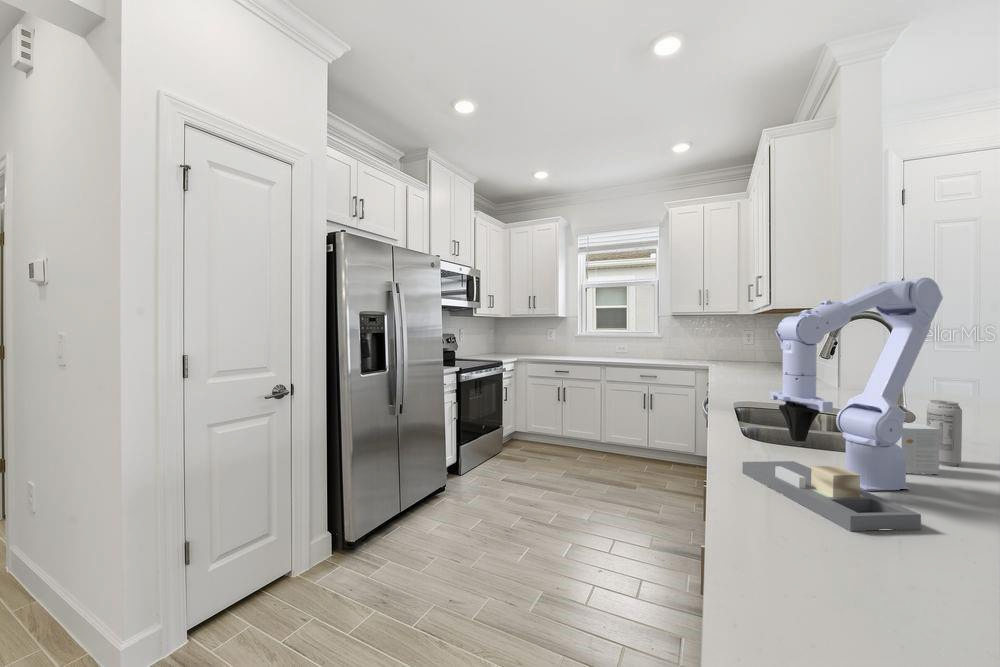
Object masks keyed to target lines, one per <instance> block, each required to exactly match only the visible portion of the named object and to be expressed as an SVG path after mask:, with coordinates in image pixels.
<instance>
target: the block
mask: <svg viewBox="0 0 1000 667" xmlns="http://www.w3.org/2000/svg"><path fill="white" fill-rule="evenodd" d="M810 468H811V488H814V489H816V490H818V491H820V492H822V493H824V494H826V495H828V496H830V497H833V498H847V497H860V489H861V488H860V475H859V474H856V473H854V472H851V471H848V470H846V469H845V468H843V467H840V466H837V465H816V466H815V465H813V466H811V467H810Z"/></svg>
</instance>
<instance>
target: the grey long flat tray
mask: <svg viewBox="0 0 1000 667" xmlns="http://www.w3.org/2000/svg"><path fill="white" fill-rule="evenodd" d="M741 469H742V474H744V475H746V476H748V477H750V478H751V479H753V480H755V481H756V482H758V481H759V482H758V483H760V482H761V483H760V484H762V483H763V485H764V484H765V486H766V485H767V486H766V487H768V488H769V487H770V489H771V488H772V489H771V490H773V489H774V490H773V491H775V490H776V491H775V492H777V493H779V494H780V493H781V494H780V495H782V494H783V496H784V497H786V498H788V499H790V500H792V501H793V502H795V503H798V505H800V506H802V507H805V508H807V509H808V510H810V511H812V512H814V513H815V514H817V513H818V515H819V514H820V515H819V516H821V515H822V516H821V517H822V518H825V519H827V520H828V519H829V521H830V520H831V522H832V521H833V522H832V523H834V524H835V525H838V526H839V527H841V528H843V529H845V530H847V531H849V532H867V531H866V530H879V529H896V530H895V531H921V529H922V528H921V527H922V514H921V513H918V512H916V511H913V510H911V509H908V508H907V507H905V506H902V505H899V504H897V503H895V502H892V501H889V500H887V499H885V498H883V497H881V496H877V495H875V494H873V493H870V492H869V491H867V490H864V489H861V488H860V497H847V498H833V497H830V496H828V495H826V494H824V493H822V492H820V491H818V490H816V489H814V488H811V467H808V466H805V465H804V464H801V463H799V462H796V461H794V460H789V461H788V460H786V461H783V460H781V461H779V460H778V461H776V460H775V461H774V460H773V461H742V468H741ZM898 529H899V530H898Z"/></svg>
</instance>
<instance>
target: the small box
mask: <svg viewBox="0 0 1000 667" xmlns="http://www.w3.org/2000/svg"><path fill="white" fill-rule="evenodd" d="M895 444H897V445H898V446H899V447H901V449H902V450H903V452H904V453H905V456H906V473H924V474H923V475H932V474H938V475H939V473H940V466H939V465H940V464H939V429H937V428H934V427H930V426H926V424H922V423H918V422H917V423H916V422H915V423H914V422H912V423H910V422H908V423H907V422H903V433H902V436H901V438H900V439H899V441H898V442H896V443H895Z"/></svg>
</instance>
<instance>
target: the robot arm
mask: <svg viewBox="0 0 1000 667" xmlns="http://www.w3.org/2000/svg"><path fill="white" fill-rule="evenodd" d="M943 297H944V296H943V295H942V292H941V289H940V287H939V285H938V283H937V282H936V281H935V280H934V279H932V278H930V277H920V278H915V279H907V280H905V279H904V280H896V281H881V282H877V283H875V284H873V285H869V286H868V287H867V288H866V289H864V290H862V291H860V292H858V293H856V294H854V295H853V296H850V297H849V298H847V299H845V300H843V301H838V300H831V299H824V300H821V301H819V305H818V306H816V307H813V308H811V309H804V310H801V311H800V314H799V315H797V316H786V317H784V318H783V319H782V320H781V321H780V322H779V324H778V326H777V329H775V330H774V332H775V335H776V338H777V340H778V341H779V343H780V349H781V351H782V391H781V390H770V392H769V394H770V397H769V398H770V400H772V401H778V402H784V404H779V405H778V409H779V410H780V412H781V414H782V416H783V417H784V419H785V422H786V425H787V428H788V431H789V435H790V439H791V441H795V442H806V441H807V438H808V434H809V431H810V429H811V426H812V424H813V422H814V420H815V419H816V418H817V416H818V415H819V414H820V413H833V409H834V408H833V406H834V404H833V403H834V402H833V401H830V400H826V399H824V398H821V397H818V396H817V356H818V355H817V353H818V352H817V348H818V347H817V346H818V344H820V343H821V342H822V341H823V339H824V337H825V336H826V335H827V334H829V333H832V332H834V331H836V330H838V329H840V328H843V327H845V326H847V325H848V324H849V323H850V321H851V319H852V317H853V316H856V315H859V314H860V313H863V312H866V311H869V310H871V309H875V310H876V311H877V313H878V314H879V315H880V317H881V318H882V319H883V320H884V322H885V323H886V324H889V325H891V327H892V330H891V333H890V334H889V336H888V339H887V341H886V343H885V345H884V347H883V350H882V352H881V353H880V356H879V357H878V360H877V362H876V365H875V366H874V369H873V370H872V372H871V376H870V377H869V379H868V381H867V384H866V386H865V388H864V390H863V392H862V393H860V394H858V395H855V396H853V397H851V398H849V399H848V400H847V402H846V404H845V406H844V407H842V408H841V409H840V410H839V411H838V412H837V415H836V418H835V424H836V427H837V429H838V430H839V432H840V433H842V438H843V439H845V462H844V463H845V468H844V469H846V470H848V471H851V472H854V473H856V474H859V475H860V489H861V490H864V491H866V492H870V491H873V492H875V491H901V490H900V489H911V488H910V486H907V481H906V479H907V474H906V456H905V453H904V452H903V450H902V449H901V447H899V446H898V445H897V444H895V443H896V442H898V441H899V439H900V438H901V436H902V433H903V423H905V419H906V416H907V415H906V414H905V412H904V410H903V409H902V408H901V407H899V405H898V404H897V402H898V400H899V397H900V395H901V393H902V390H903V389H904V386H905V384H906V382H907V380H908V377H909V376H910V373H911V371H912V369H913V367H914V364H915V362H916V361H917V357H918V356H919V354H920V352H921V349H922V347H923V345H924V343H925V341H926V339H927V336H928V334H929V332H930V329H931V325H932V322H933V320H934V318H935V315H936V314H937V311H938V309H939V307H940V305H941V303H942V300H943Z"/></svg>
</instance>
